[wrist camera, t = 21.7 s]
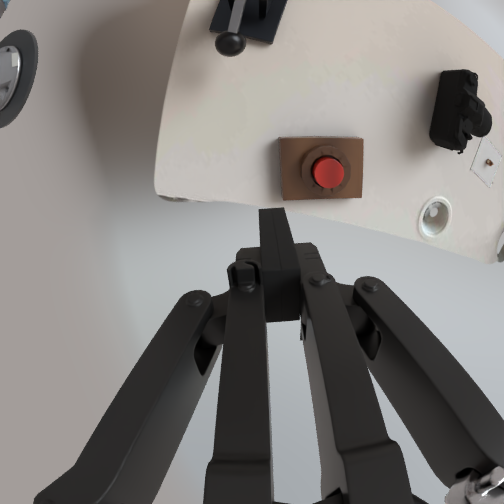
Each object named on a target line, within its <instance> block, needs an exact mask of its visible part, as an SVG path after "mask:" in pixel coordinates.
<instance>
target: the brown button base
mask: <svg viewBox="0 0 504 504" xmlns="http://www.w3.org/2000/svg"><path fill="white" fill-rule="evenodd" d="M279 151H280V169H281V189H282V198H283V200H304V199H332V198H362V181H363V139H362V138H359V137H336V136H301V137H279ZM322 157H331V158H333V159H335V160H336V161H338V162H339V163H340V164H341V165H342V167H343V170H344V177H343V180H342V181H341V183H340V184H339V185H338V186H336V187H334V188H324V187H322V186H320V185H319V184H318V183H317V181H316V180H315V179H314V177H313V174H312V169H313V165H314V164H315V162H316V161H317V160H318V159H320V158H322Z"/></svg>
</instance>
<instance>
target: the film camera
mask: <svg viewBox="0 0 504 504" xmlns="http://www.w3.org/2000/svg"><path fill="white" fill-rule="evenodd" d="M475 75H476V76H475ZM476 77H477V78H476ZM477 80H478V75H477V74H476V73H472V72H471V71H470V70H465V69H462V70H448V71H443V72H442V73H441V78H440V82H439V88H438V93H437V98H436V103H435V108H434V113H433V118H432V123H431V128H430V138H431V140H432V141H433V142H434V143H435V145H437V146H440V147H443V148H446V149H450V150H452V151H453V150H457V151H458V150H460V152H458V154H461V153H463V150H464V149H465V148H466V145H467V141H468V140H471V139H472V138H473V137H472V136H471V134H472V135H474V136H477V137H484V136H486V135H487V134H488V133H489V132H490V130H491V126H492V117H491V114H490V113H489V112H488V110H487V109H486V108H485V104H484V102H483V101H482V100H480V99H479V98H478V97H477V87H478V81H477Z"/></svg>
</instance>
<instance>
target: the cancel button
mask: <svg viewBox="0 0 504 504" xmlns="http://www.w3.org/2000/svg"><path fill="white" fill-rule="evenodd" d="M312 174H313V177H314V179H315V180H316V181H317V183H318V184H319V185H320V186H322V187H324V188H334V187H336V186H338V185H339V184H340V183H341V181H342V180H343V177H344V170H343V167H342V165H341V164H340V163H339V162H338V161H336V160H335V159H333V158H331V157H322V158H320V159H318V160H317V161H316V162H315V164H314V165H313V169H312Z"/></svg>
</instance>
